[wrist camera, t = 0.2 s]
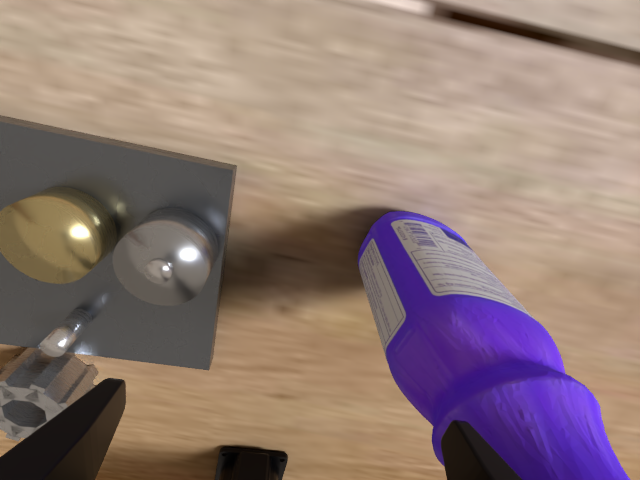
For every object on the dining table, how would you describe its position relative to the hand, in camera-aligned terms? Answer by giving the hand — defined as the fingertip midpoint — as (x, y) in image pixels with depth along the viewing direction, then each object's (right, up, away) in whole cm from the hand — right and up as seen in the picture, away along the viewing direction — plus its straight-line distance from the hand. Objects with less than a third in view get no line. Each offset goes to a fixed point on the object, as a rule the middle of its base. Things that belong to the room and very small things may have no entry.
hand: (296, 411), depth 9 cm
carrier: (-14, +3, +14) cm, 20 cm away
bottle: (+6, +4, +14) cm, 16 cm away
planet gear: (-21, -6, +18) cm, 28 cm away
